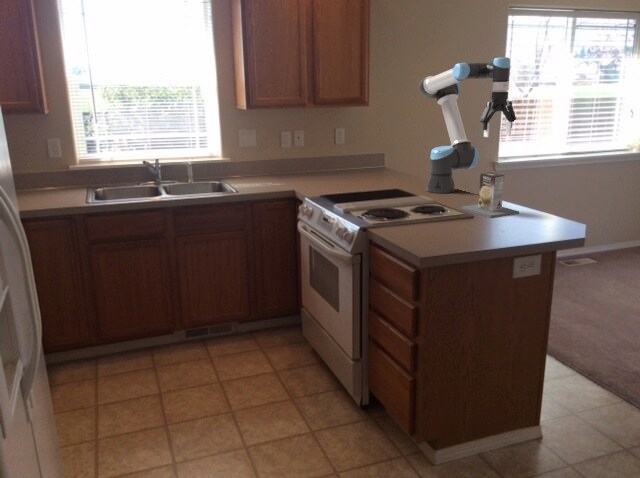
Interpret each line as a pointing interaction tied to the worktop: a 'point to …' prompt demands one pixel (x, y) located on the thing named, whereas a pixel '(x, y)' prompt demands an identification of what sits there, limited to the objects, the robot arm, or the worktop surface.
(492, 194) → the coffee box
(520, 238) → the worktop surface
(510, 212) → the mat
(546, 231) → the worktop surface
